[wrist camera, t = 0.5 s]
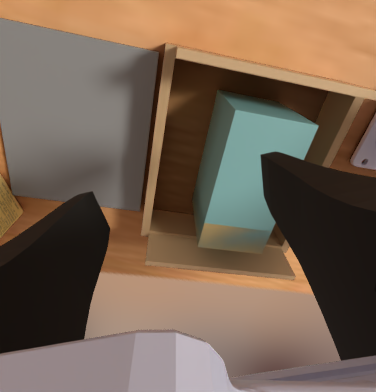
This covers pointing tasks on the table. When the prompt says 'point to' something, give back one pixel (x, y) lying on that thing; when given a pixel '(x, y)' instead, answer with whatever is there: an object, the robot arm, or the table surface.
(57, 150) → the slate mat
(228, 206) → the teal box
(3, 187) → the candy box
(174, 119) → the table surface
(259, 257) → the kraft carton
